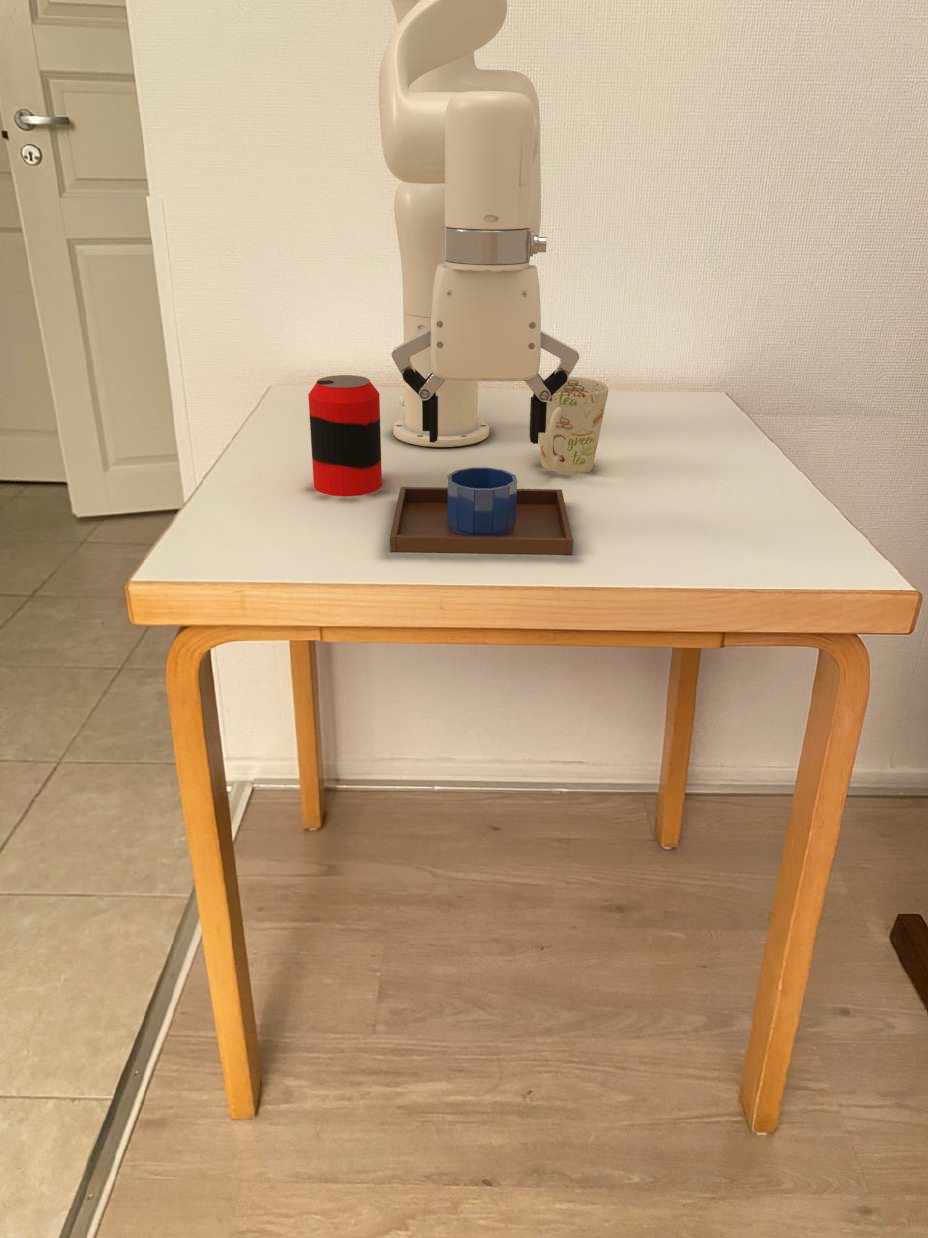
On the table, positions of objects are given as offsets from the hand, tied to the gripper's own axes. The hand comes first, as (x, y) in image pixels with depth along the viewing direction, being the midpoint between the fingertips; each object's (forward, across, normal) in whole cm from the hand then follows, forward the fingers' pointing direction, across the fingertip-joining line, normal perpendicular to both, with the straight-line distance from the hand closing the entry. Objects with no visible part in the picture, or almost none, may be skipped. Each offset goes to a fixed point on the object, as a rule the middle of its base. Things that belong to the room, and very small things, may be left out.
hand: (483, 439), depth 94 cm
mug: (+9, -10, -19) cm, 23 cm away
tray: (+10, 0, -1) cm, 10 cm away
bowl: (+9, 0, -1) cm, 9 cm away
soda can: (+9, +15, -12) cm, 22 cm away
